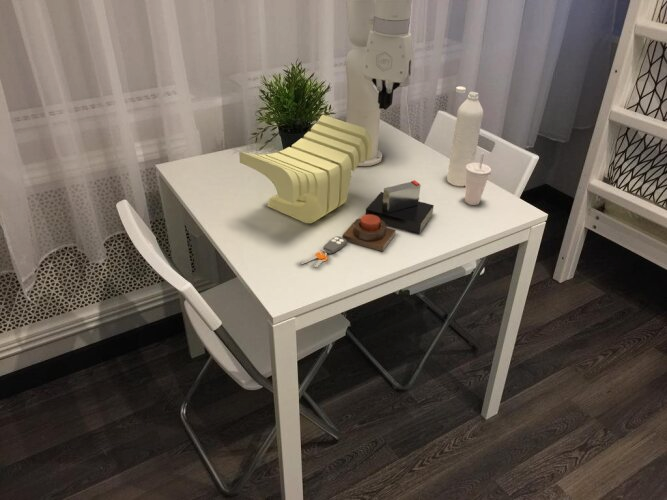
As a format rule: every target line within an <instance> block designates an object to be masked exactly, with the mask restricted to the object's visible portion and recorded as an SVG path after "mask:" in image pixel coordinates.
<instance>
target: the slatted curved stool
mask: <svg viewBox="0 0 667 500" xmlns="http://www.w3.org/2000/svg"><path fill="white" fill-rule="evenodd" d="M238 152H239V153H238V155H239V163H240V164H241V165H245V166H247V167H248V168H251V169H252V170H255V171H257V172H258V173H260V174H262V175H263V176H264V177H266V178H267V179H268V180H269V181H270V182H271V183H272V184H273V186H274V188H275V190H276V192H277V193H276V194H274V195H273V196H271V197H269V200H268V203H267V207H268V208H271V209H273V210H275V211H277V212H280V213H282V214H285V215H287V216H289V217H291V218H293V219H296V220H298V221H300V222H302V223H304V224H313V223H314V222H317V221H319V220H320V219H322V218H323V217H325V216H326V215H327V214H330V213H332V211H335V210H336V209H338V208H339V207H341V206H342V205H344V204H345V203H346V202H347V200H348V193H349V187H350V183H351V179H352V172H354V171H356V169H357V167H359V166H358V163H362V162H363V161H365V159H366V160H368V159H371V156H372V139H371V136H370V134H369V133H368V131H367V130H365V129H364V128H362V127H359V126H356V125H353V124H350V123H347V122H346V121H344V120H341V119H337V118H334V117H331V116H328V115H325V114H322V115H321V116H319V118H318V120H317V123H314V124H313V126H312V127H311V128H310V130H308V131H307V132H306V133H305V134H304V135H303V137H301V138H300V139H298V140H297V141H296V142H294V143H293V144H291V147H290V146H288V147H286V148H284V149H281V150H280V151H278V152H273V153H266V154H254V153H247V152H244V151H240V150H239V151H238Z"/></svg>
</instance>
